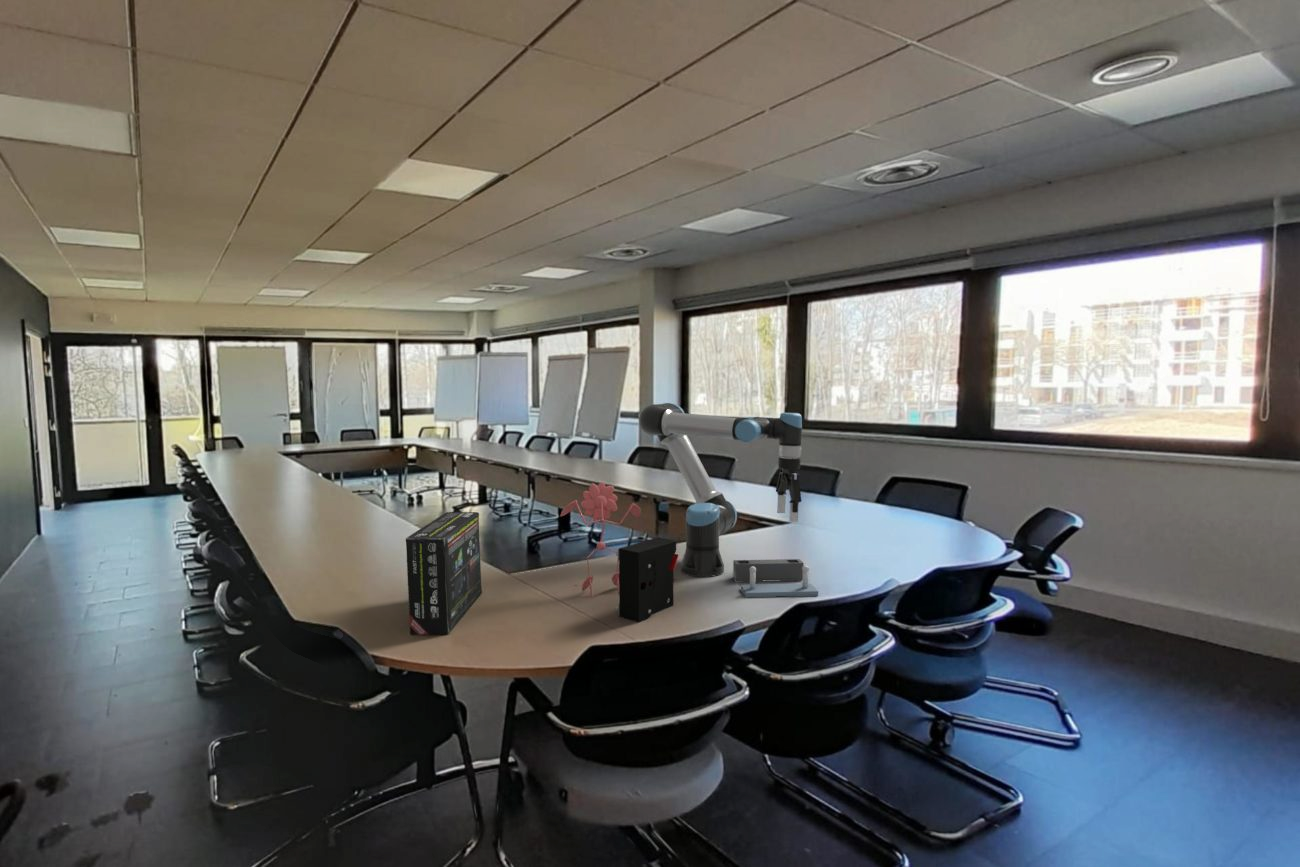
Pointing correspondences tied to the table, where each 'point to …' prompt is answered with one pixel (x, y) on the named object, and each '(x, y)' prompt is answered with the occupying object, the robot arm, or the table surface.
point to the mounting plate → (779, 587)
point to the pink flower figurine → (600, 506)
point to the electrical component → (646, 578)
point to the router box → (443, 572)
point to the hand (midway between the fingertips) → (787, 517)
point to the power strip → (769, 569)
